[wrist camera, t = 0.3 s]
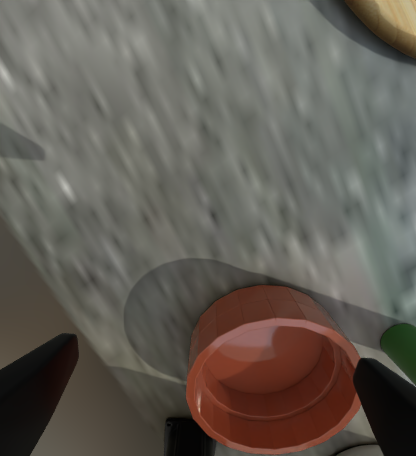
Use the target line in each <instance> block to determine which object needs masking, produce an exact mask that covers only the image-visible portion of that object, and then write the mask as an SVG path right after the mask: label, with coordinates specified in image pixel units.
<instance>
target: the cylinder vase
mask: <svg viewBox="0 0 416 456" xmlns="http://www.w3.org/2000/svg"><path fill="white" fill-rule="evenodd" d="M336 456H384V455H383V453H382V451H381V449H380V447H379V445H363V446H357V447H354V448H350V449H348V450H345V451H343V452H341V453H339V454H338V455H336Z"/></svg>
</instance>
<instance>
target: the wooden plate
mask: <svg viewBox="0 0 416 456" xmlns="http://www.w3.org/2000/svg"><path fill="white" fill-rule="evenodd" d="M344 1H345V2H346V4H347V5H348V6H349V8H350V9H351V10H352V11H353V12H354V13H355V14H356V16H357V17H358V18H359V19H360V20H361V21H362V22H363V23H364V24H365V25H366V26H367V27H368V28H369V29H370V30H371V31H372V32H373V33H374V34H375V35H377V36H378V37H379V38H381V39H382V40H383V41H385V42H386V43H388V44H389V45H391V46H392V47H394V48H396V49H397V50H399V51H400V52H402V53H404V54H406V55H408V56H410V57H413V58H415V59H416V0H344Z"/></svg>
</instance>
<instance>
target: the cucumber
mask: <svg viewBox="0 0 416 456" xmlns="http://www.w3.org/2000/svg"><path fill="white" fill-rule="evenodd" d="M381 348H382V350H383V351H384V352H385V353H386V354H387V355H388V356H389V357H390V358H391V359H392V361H393V362H394V363H395V364H396V365H397V366H398V367H399V368H400V369H401V370H402V371H403V372H404V373H405V375H406V376H407V377H408V378H409V379H410V380H411V381H412V382H413V383H414V384H415V385H416V327H415V326H413V325H409V324H399V325H396V326H393V327H391V328H390V329H388V330H387V331H386V332H385V333H384V334H383V336H382V338H381Z"/></svg>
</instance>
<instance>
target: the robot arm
mask: <svg viewBox="0 0 416 456" xmlns="http://www.w3.org/2000/svg"><path fill="white" fill-rule="evenodd" d="M78 358H79V350H78V339H77V336H76V335H75V334H69V333H62V334H60V335H58V336H56V337H55V338H53V339H52V340H50V341H48V342H46V343H45V344H43V345H41V346H40V347H38V348H36V349H35V350H33V351H31V352H30V353H28V354H26V355H24V356H23V357H21V358H19V359H18V360H16V361H14V362H13V363H11V364H10V365H8V366H6V367H4V368H2V369H1V370H0V456H30V454H31V453H32V451H33V449H34V447H35V446H36V444H37V442H38V440H39V439H40V437H41V435H42V433H43V432H44V430H45V428H46V426H47V425H48V423H49V421H50V419H51V417H52V415H53V413H54V411H55V409H56V406H57V404H58V402H59V400H60V398H61V396H62V394H63V392H64V390H65V387H66V385H67V383H68V381H69V379H70V377H71V375H72V373H73V370H74V368H75V366H76V364H77V361H78ZM353 385H354V388H355V390H356V392H357V395H358V397H359V400H360V402H361V404H362V407H363V409H364V412H365V414H366V417H367V419H368V421H369V424H370V426H371V429H372V431H373V433H374V436H375V438H376V440H377V443H378V445H379V447H380V449H381V451H382V453H383V455H384V456H416V387H415V386H413V385H412V384H411V383H409V382H408V381H406V380H405V379H403V378H402V377H400V376H399V375H397V374H396V373H395V372H393V371H392V370H390V369H389V368H387V367H386V366H384V365H383V364H382V363H380V362H379V361H377V360H375V359H372V358H360V359H359V361H358V363H357V366H356V369H355V371H354V374H353ZM215 447H216V440H215V439H213V438H212V437H210V436H208V435H207V434H206V433H205V432H204V431H203V429H202V428H201V427H200V426H199V425H198V424H197V422H196V421H195V420H189V419H173V418H168V419H166V422H165V443H164V456H214V455H215Z"/></svg>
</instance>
